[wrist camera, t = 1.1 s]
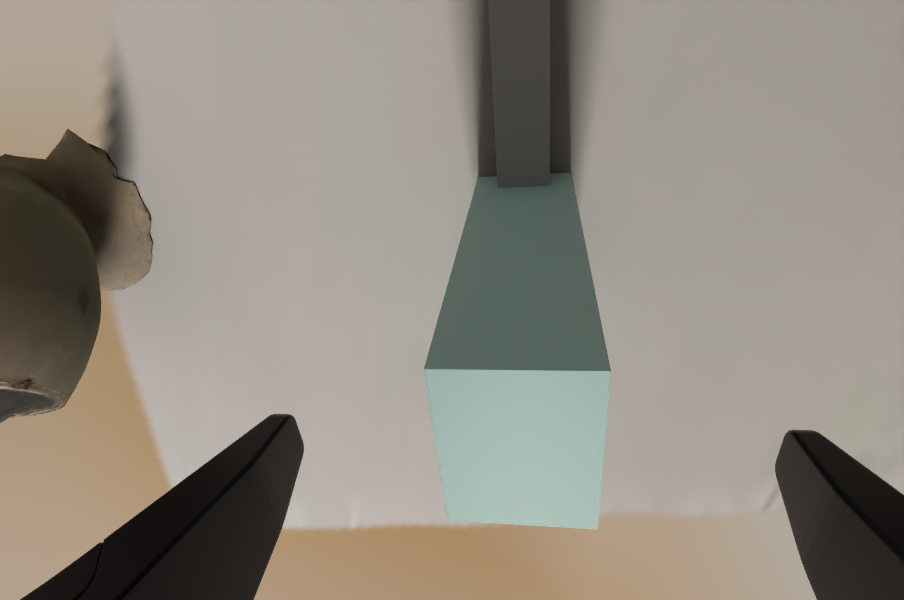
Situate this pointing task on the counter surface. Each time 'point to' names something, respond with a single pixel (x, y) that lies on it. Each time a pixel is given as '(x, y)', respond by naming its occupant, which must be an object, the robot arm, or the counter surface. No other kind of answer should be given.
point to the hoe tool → (520, 317)
